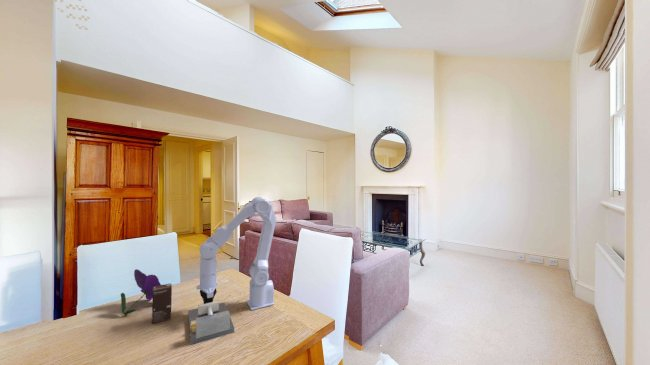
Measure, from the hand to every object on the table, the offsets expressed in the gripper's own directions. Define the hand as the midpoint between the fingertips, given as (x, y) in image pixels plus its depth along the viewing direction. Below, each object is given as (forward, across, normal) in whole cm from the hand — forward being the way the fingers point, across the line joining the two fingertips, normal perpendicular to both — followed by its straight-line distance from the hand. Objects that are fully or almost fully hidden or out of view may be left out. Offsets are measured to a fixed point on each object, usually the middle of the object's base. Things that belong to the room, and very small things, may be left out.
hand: (208, 308), depth 97 cm
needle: (0, +10, -3) cm, 11 cm away
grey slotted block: (0, +6, 0) cm, 6 cm away
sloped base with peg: (+2, +6, 0) cm, 7 cm away
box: (+2, -5, -15) cm, 16 cm away
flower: (+2, -17, -22) cm, 28 cm away
